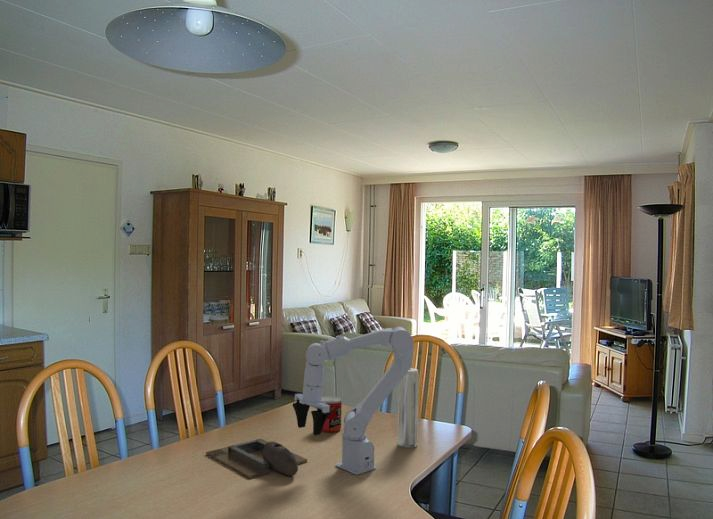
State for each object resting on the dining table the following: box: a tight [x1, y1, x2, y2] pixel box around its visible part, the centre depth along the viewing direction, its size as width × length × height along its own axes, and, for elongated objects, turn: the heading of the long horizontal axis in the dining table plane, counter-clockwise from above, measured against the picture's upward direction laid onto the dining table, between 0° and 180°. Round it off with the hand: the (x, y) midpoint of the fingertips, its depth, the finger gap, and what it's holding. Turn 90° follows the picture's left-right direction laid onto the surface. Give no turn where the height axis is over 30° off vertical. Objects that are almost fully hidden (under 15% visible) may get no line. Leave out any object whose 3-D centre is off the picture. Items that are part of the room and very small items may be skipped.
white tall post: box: [397, 367, 420, 449], centre depth 185 cm, size 6×6×25 cm
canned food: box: [321, 395, 343, 433], centre depth 200 cm, size 8×8×11 cm
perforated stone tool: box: [262, 440, 299, 477], centre depth 160 cm, size 15×5×7 cm, turn 38°
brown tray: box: [205, 438, 308, 480], centre depth 170 cm, size 25×20×3 cm
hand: (309, 430), depth 164 cm, fingers open, 7 cm apart
